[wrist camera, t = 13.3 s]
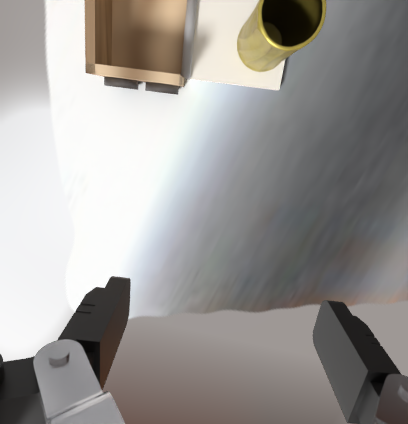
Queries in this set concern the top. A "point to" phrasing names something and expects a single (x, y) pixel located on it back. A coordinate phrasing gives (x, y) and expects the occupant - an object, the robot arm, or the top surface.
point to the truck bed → (136, 42)
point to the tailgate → (221, 45)
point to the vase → (278, 31)
